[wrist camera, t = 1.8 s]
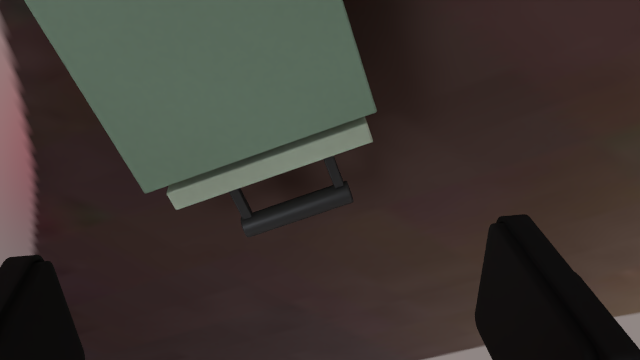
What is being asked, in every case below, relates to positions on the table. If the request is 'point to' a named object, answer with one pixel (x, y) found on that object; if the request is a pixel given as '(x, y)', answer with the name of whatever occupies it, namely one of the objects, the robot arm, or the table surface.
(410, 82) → the table surface
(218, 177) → the drawer
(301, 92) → the cabinet
